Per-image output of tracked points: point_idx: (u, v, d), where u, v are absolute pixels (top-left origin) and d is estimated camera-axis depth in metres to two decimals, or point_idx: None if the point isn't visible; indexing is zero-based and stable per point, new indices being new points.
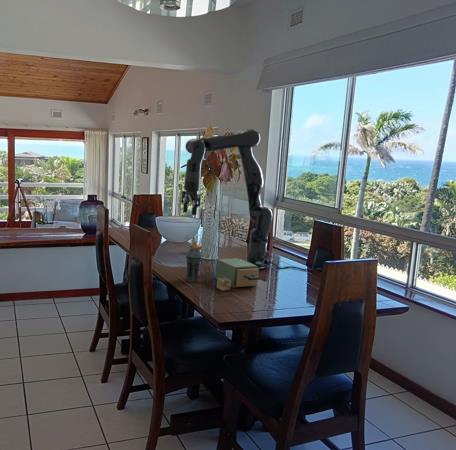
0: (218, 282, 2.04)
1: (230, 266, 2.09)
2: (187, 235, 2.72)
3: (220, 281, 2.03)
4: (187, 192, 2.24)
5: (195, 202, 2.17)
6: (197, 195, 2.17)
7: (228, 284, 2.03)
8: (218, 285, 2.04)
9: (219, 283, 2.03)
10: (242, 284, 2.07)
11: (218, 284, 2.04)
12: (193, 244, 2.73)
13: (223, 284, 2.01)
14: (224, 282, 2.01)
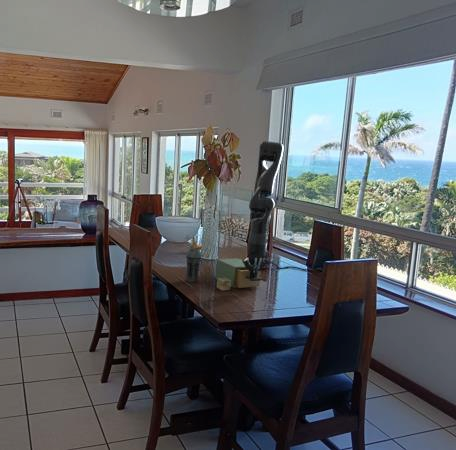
0: (218, 282, 2.04)
1: (230, 266, 2.09)
2: (187, 235, 2.72)
3: (220, 281, 2.03)
4: None
5: (246, 266, 2.03)
6: (243, 262, 2.01)
7: (228, 284, 2.03)
8: (218, 285, 2.04)
9: (219, 283, 2.03)
10: (244, 285, 2.06)
11: (218, 284, 2.04)
12: (193, 244, 2.73)
13: (223, 284, 2.01)
14: (224, 282, 2.01)
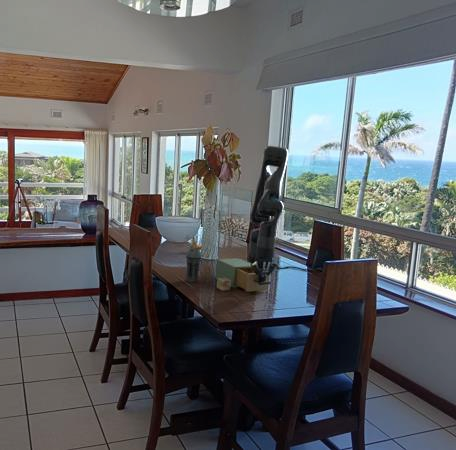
0: (218, 282, 2.04)
1: (230, 266, 2.09)
2: (187, 235, 2.72)
3: (220, 281, 2.03)
4: None
5: None
6: (251, 266, 1.96)
7: (228, 284, 2.03)
8: (218, 285, 2.04)
9: (219, 283, 2.03)
10: (252, 289, 2.01)
11: (218, 284, 2.04)
12: (193, 244, 2.73)
13: (223, 284, 2.01)
14: (224, 282, 2.01)
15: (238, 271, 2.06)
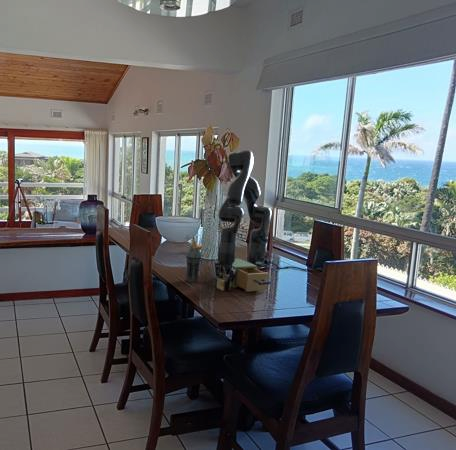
0: (218, 282, 2.04)
1: None
2: (187, 235, 2.72)
3: (220, 281, 2.03)
4: (221, 263, 2.04)
5: (229, 278, 1.98)
6: (233, 271, 1.97)
7: None
8: (218, 285, 2.04)
9: (219, 283, 2.03)
10: (252, 289, 2.01)
11: (218, 284, 2.04)
12: (193, 244, 2.73)
13: (223, 284, 2.01)
14: (224, 282, 2.01)
15: (238, 271, 2.06)
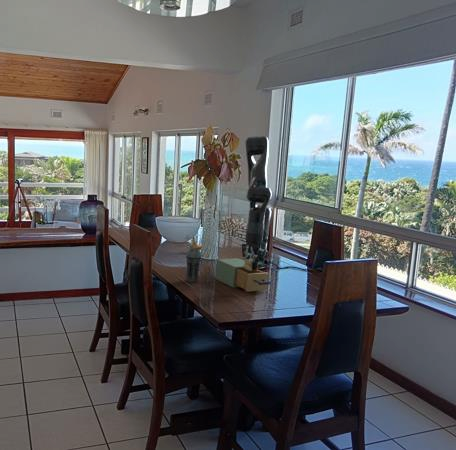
0: (246, 263, 2.06)
1: (230, 266, 2.09)
2: (187, 235, 2.72)
3: (248, 261, 2.04)
4: (248, 243, 2.06)
5: (257, 258, 2.00)
6: (261, 251, 1.99)
7: None
8: (245, 265, 2.06)
9: (247, 263, 2.05)
10: (252, 289, 2.01)
11: (245, 264, 2.06)
12: (193, 244, 2.73)
13: (251, 264, 2.03)
14: (252, 262, 2.03)
15: (238, 271, 2.06)
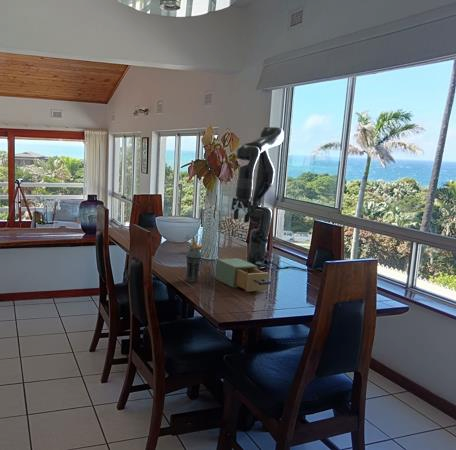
0: None
1: (230, 266, 2.09)
2: (187, 235, 2.72)
3: None
4: (239, 199, 2.22)
5: (248, 209, 2.15)
6: (250, 202, 2.14)
7: None
8: None
9: None
10: (252, 289, 2.01)
11: None
12: (193, 244, 2.73)
13: None
14: None
15: (238, 271, 2.06)
